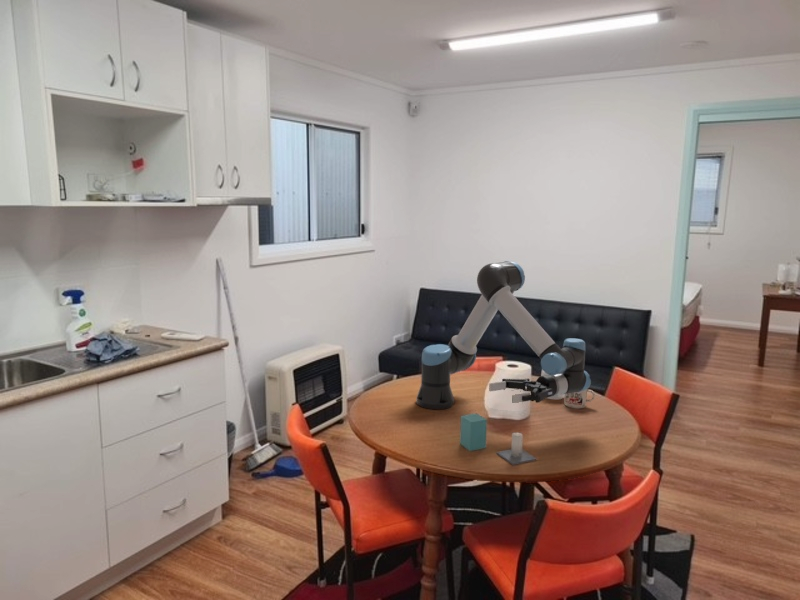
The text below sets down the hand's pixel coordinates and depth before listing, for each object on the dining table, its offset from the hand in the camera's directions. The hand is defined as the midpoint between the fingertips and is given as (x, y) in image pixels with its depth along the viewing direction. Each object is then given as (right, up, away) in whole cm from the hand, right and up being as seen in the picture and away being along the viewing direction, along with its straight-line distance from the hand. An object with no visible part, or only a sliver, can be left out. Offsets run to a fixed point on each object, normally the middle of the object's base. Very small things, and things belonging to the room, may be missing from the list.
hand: (500, 393), depth 192 cm
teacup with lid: (+39, -12, +40) cm, 57 cm away
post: (+4, -19, -9) cm, 21 cm away
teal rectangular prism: (-9, -18, -1) cm, 20 cm away
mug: (+32, -9, +53) cm, 62 cm away
